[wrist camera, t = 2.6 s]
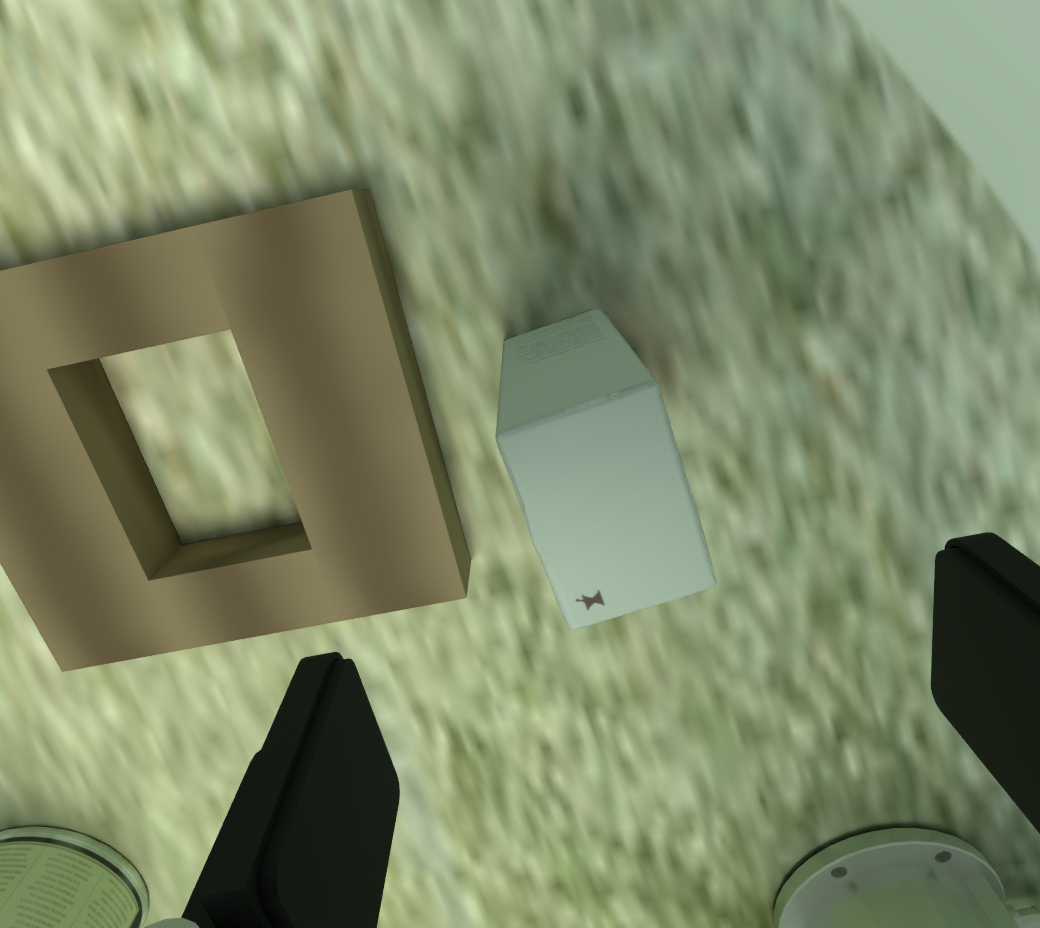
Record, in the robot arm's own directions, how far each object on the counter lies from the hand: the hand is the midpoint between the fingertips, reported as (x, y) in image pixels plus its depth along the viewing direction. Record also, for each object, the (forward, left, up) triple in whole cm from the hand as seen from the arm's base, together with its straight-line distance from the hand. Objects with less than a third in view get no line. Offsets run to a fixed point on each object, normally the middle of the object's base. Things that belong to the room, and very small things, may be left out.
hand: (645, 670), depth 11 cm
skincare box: (0, 0, -18) cm, 18 cm away
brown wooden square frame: (+15, -1, -18) cm, 23 cm away
